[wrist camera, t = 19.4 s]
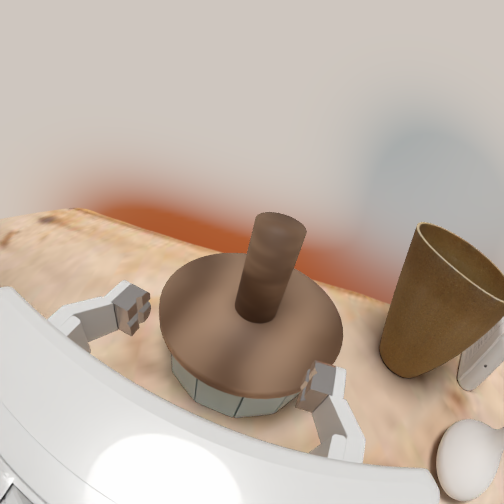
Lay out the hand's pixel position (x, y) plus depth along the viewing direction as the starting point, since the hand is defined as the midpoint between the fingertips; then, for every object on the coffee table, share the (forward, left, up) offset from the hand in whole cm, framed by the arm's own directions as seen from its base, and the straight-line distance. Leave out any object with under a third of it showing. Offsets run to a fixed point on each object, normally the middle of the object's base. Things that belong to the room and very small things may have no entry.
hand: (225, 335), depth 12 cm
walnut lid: (0, +9, -8) cm, 12 cm away
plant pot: (+20, +17, -14) cm, 30 cm away
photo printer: (+34, +18, -14) cm, 41 cm away
